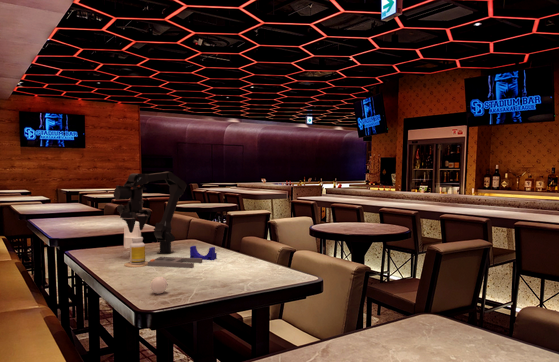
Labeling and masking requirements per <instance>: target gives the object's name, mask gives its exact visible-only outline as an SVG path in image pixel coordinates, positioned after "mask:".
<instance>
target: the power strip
mask: <svg viewBox="0 0 559 362" xmlns="http://www.w3.org/2000/svg"><path fill="white" fill-rule="evenodd" d="M195 263H197V264H201V263H203V260H202V258H190V257H182V256H181V257H180V256H179V257H178V256H177V257H176V256H158V257H156V258H152V259H149V261H148V265H147V267H162V268H163V267H164V268H183V269H185V268H186V269H188V268H189V269H193V268H194V267H195Z"/></svg>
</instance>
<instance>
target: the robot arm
mask: <svg viewBox="0 0 559 362" xmlns="http://www.w3.org/2000/svg"><path fill="white" fill-rule="evenodd" d="M156 181H165V183H166V184H167V185H168V186H169V189H168V190H169V196H168V197H169V198H168V200H167V203H166V206H165V209H164V212H163V214H162V217H161V220H160V221H159V222H156V223H155V226H154V228H153V235H154V237H155V239H156V241H157V242H158V241H159V251H157V252H156V254H160V255H161V254H162V255H163V254H164V255H169V254H172V253H174V252H175V251H174V250H172V242H174V241H175V239H176V237H175V236H174V235H173V234H172V220H173V217H174V215H175V211H176V208H177V205H178V203H179V198H181V197H182V195H184V194H185V193H184V192H185V190H186V188H187V183H186V181H184V180H183V179H182V178H180V177H178V176H177V175H175V173H173V172H171V171H163V172H155V173H130V174H129V175H128V177H127V180H126V181H125V183H124V184H123V185H115V189H114V190H113V199H115V201H124V200H125V201H127V200H129V201H127V204H125V205H123V204H119V205H117V210H116V211H117V212H118V213H119V218H120V219H121V220H122V221H124V222H125V223H126V225H128V228H129V231H130V233H132V232H133V229H134V226H136V221H137V219H138V226H139V228H140V230H141V231H143V229H144V227H145V225H146V223H147V220H148V219H149V218H150V215H151V216H152V211H151V210H150V209H146V208H143V204H144V203H145V201H144V200H143V190H144V191H145V190H147V187H146V186H145V184H148V183H149V182H156Z"/></svg>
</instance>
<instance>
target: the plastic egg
mask: <svg viewBox="0 0 559 362" xmlns="http://www.w3.org/2000/svg"><path fill="white" fill-rule="evenodd" d="M149 287H150V290H151V291H152V293H154V294H156V295H157V294H158V295H160V294H162V293H165V292H166V290H167V288H168V281H167V279H166V278H165V277H162V276H156V277H154V278H153V279H152V280H151V282H150V285H149Z"/></svg>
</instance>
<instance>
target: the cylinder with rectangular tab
mask: <svg viewBox="0 0 559 362" xmlns="http://www.w3.org/2000/svg"><path fill="white" fill-rule="evenodd" d="M123 227H124V228H123V230H124V231H123V249H127V248H130V244H132V243H133V241H132V238H133V237H142V230H140V228H139V225H134V229H133V232H132V233H130V231H129V228H128V225H127V224H125V225H124V226H123Z"/></svg>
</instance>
